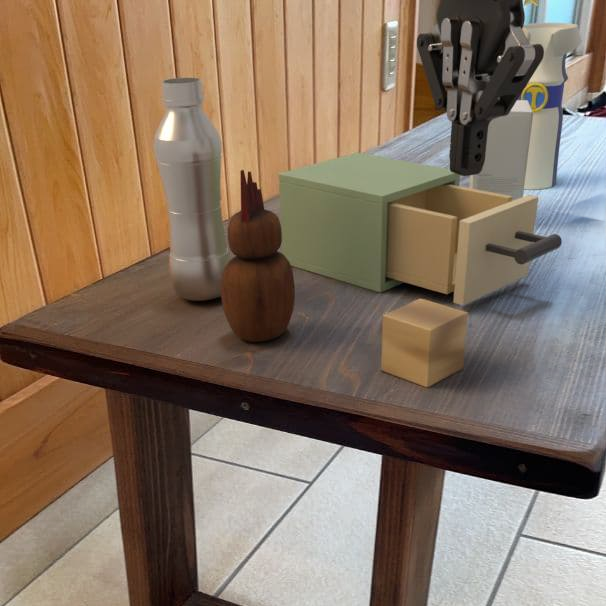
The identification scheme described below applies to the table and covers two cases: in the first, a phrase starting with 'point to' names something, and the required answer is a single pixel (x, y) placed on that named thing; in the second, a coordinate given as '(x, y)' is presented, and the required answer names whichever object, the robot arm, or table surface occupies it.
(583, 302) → the table surface
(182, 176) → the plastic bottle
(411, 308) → the block
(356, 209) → the cabinet
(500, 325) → the table surface
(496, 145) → the small box
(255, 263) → the wooden figurine
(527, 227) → the drawer
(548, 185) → the spray bottle
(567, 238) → the table surface
